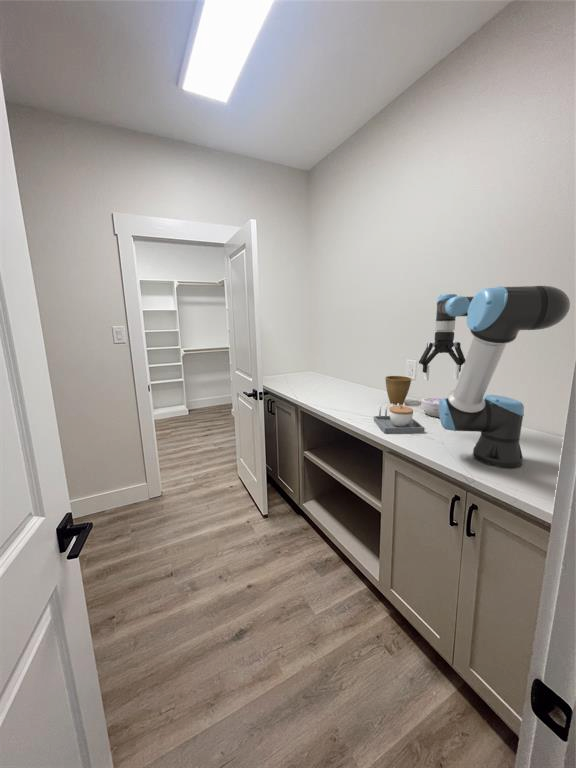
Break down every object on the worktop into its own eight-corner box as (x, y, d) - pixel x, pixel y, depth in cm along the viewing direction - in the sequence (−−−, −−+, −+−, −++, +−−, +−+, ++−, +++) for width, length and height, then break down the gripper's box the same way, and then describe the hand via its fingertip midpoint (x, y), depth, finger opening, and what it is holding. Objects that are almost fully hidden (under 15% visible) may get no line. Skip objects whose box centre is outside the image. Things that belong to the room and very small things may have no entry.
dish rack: (424, 432, 140) (425, 414, 138) (384, 433, 140) (385, 414, 138) (408, 420, 158) (409, 403, 156) (373, 420, 158) (374, 403, 156)
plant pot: (403, 408, 179) (405, 381, 175) (379, 403, 189) (381, 378, 185) (413, 402, 189) (415, 377, 186) (390, 399, 199) (392, 374, 196)
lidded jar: (414, 428, 141) (415, 409, 139) (389, 427, 143) (390, 408, 141) (410, 421, 152) (411, 403, 150) (387, 420, 154) (388, 402, 152)
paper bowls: (440, 409, 175) (441, 396, 173) (458, 418, 160) (459, 403, 158) (415, 411, 173) (416, 397, 171) (430, 419, 158) (431, 404, 156)
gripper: (466, 330, 138) (462, 377, 142) (412, 331, 136) (409, 378, 140) (478, 331, 130) (473, 380, 134) (420, 331, 129) (417, 381, 133)
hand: (440, 379), depth 137 cm, fingers open, 13 cm apart
